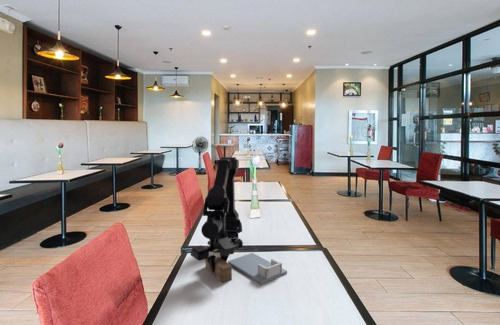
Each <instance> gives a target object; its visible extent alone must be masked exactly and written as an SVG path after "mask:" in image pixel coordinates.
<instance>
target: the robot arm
mask: <svg viewBox="0 0 500 325" xmlns="http://www.w3.org/2000/svg"><path fill="white" fill-rule="evenodd" d="M239 161H240V160H239V159H237V157H236V156H235V157H234V156H233V157H232V156H222V157H220V158H219V159H216V173H215V178H214V182H213V185H212V186H213V187H211V188H210V189H209V190H208V192H207V195H206V196H205V199H204V206H203V212H202V216H204V217H207V218H206V221H205V222H204V224H202V226H201V234H202V236H203V237H204V238H206V239H208V240H209V241H207V245H208V246H207V247H205V246H203V245H197V246H194V247H192V248H191V250H190V256H191V257H192V258H194V259H196V261H203V260H205V259H206V260H207V261H208V264H209V266H210V268H211V270H212V272H215V262H214V259H215V258H216V256H214V253H215V252H217V251H218V252H219V257H221V258H222V259H223V260H225V261H226V262H227V263H228V258H229V256H230V255H234V254H235V250H238V249H241V248H243V246H244V242H243V240H242V239H241V238H240V237H239V234H240V233H243V225H242V222H241V219H240V217H239V212H237V209H236V204H235V203H236V200H235V199H236V198H235V176H236V174H237V173H238V171H239V170H238V169H240V168H239V167H240V162H239ZM206 260H205V261H206ZM212 272H211V273H212Z"/></svg>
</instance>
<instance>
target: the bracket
mask: <svg viewBox="0 0 500 325" xmlns="http://www.w3.org/2000/svg"><path fill="white" fill-rule="evenodd" d="M227 263H228V264H230V265H231V266H232V268H234V269H236V270H238V271H239V272H241V273H243V274H244V275H245V276H247V277H249V278H251V279H252V280H254V281H255V282H257V283H258V284H260V285H263V284H266V283H268V282H270V281H273V280H275V279H278V278H279V277H282V276H285V275H287V274H288V270H286V269H285V268H283V263H282V262H281V261H278V260H276V259H274V258H271V259H270V261H269V260H267V259H265V258H263V257H261V256H260V255H257V254H256V253H254V252H251V253H248V254H245V255H241V256H238V257H236V258H233V259H230V260H227Z"/></svg>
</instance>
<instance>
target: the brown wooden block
mask: <svg viewBox="0 0 500 325" xmlns="http://www.w3.org/2000/svg"><path fill="white" fill-rule="evenodd" d="M214 256H216V258H215V259H214V262H215V272H212V270H211V268H210V266H209V264H208V261H207V260H206V259H204V260H205V268H206V269H207V270H209V272H211V273H212V275H214V276H215V277H216V278H217V279H218V280H219V281H220V282H222V283H226V282H229V281H233V277H232V276H233V271H232V269H233V266H231V265H230V264H228V261H227V262H226V261H225V260H223V259H222V258H221V257H220V255H218V254H217V253H216V252H214Z"/></svg>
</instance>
